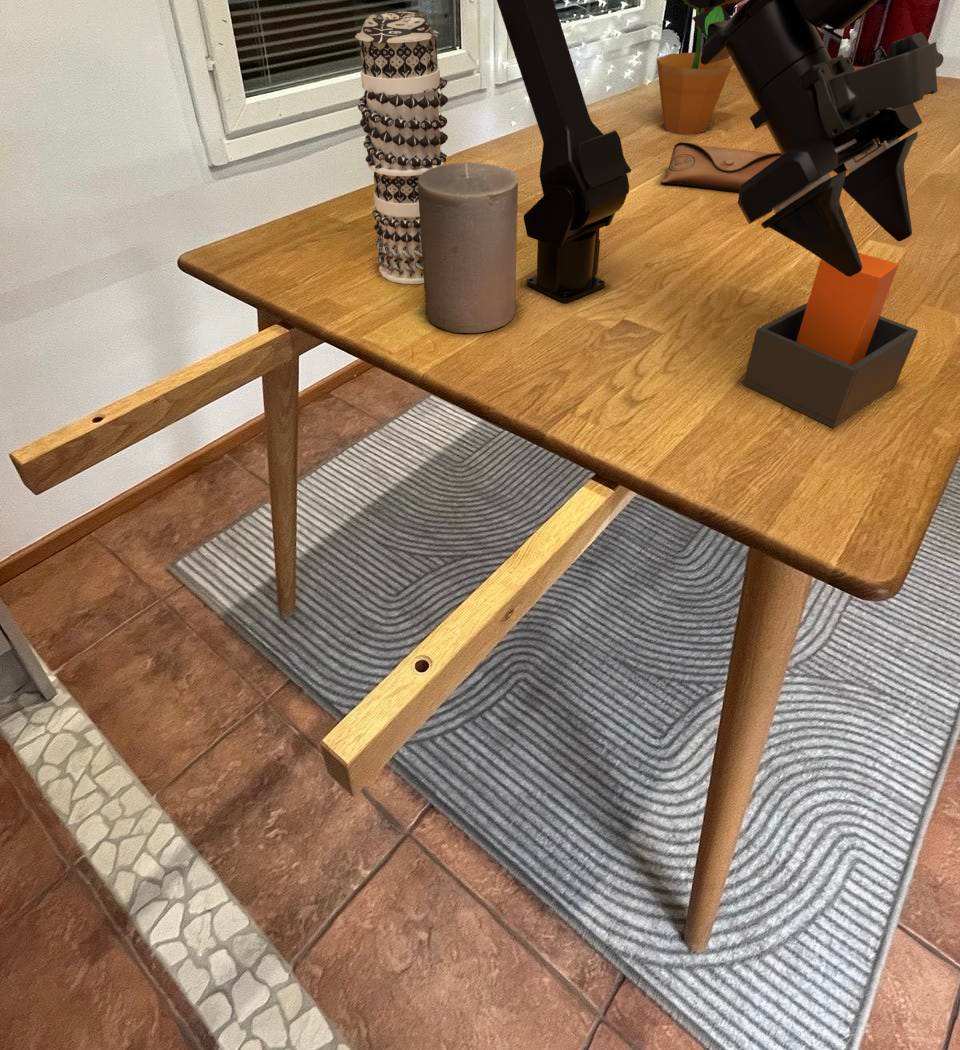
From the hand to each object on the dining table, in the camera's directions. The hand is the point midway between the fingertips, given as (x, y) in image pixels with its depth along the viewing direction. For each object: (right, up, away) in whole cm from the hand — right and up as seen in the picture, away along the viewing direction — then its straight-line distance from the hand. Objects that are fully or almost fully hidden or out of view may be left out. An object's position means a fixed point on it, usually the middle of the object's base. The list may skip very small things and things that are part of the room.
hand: (881, 255), depth 59 cm
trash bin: (-1, -9, +9) cm, 13 cm away
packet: (-1, -8, +9) cm, 12 cm away
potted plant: (+4, +47, +70) cm, 85 cm away
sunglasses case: (+4, +28, +49) cm, 57 cm away
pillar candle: (-33, +1, +21) cm, 39 cm away
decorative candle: (-39, +9, +29) cm, 50 cm away
